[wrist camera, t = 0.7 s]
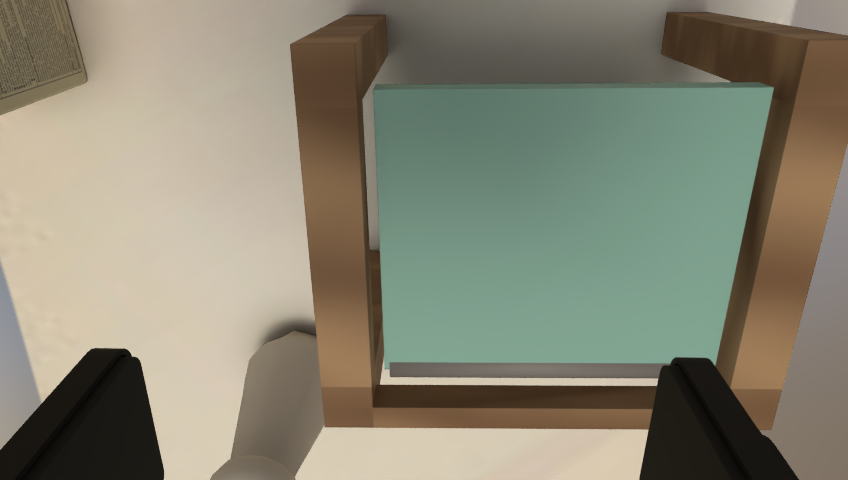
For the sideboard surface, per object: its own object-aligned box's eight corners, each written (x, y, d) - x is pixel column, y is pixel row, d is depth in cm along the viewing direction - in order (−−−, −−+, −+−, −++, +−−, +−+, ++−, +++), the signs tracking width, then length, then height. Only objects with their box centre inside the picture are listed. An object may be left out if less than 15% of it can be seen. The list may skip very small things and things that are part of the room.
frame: (346, 15, 32) (289, 44, 20) (707, 12, 31) (874, 40, 19) (360, 280, 37) (324, 427, 26) (664, 281, 37) (771, 429, 25)
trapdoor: (376, 84, 22) (373, 90, 20) (757, 82, 21) (775, 87, 20) (387, 365, 26) (385, 383, 25) (700, 367, 26) (712, 384, 25)
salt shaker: (324, 306, 38) (273, 460, 26) (362, 379, 40) (331, 552, 28) (240, 336, 39) (154, 496, 27) (281, 405, 41) (218, 583, 29)
